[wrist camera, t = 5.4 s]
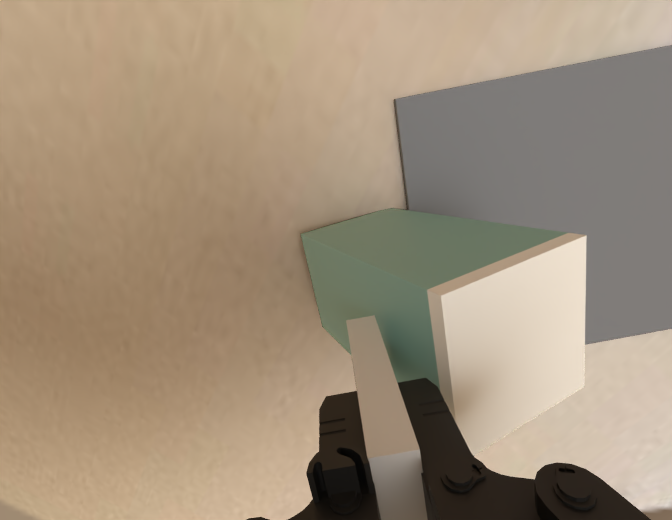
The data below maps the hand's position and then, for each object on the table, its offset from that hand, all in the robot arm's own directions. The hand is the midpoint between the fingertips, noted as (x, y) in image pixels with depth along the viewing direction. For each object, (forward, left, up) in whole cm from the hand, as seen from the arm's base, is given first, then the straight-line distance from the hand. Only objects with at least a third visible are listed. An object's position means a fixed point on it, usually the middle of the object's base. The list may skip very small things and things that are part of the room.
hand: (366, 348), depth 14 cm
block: (0, +1, -9) cm, 9 cm away
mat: (0, +13, -10) cm, 16 cm away
